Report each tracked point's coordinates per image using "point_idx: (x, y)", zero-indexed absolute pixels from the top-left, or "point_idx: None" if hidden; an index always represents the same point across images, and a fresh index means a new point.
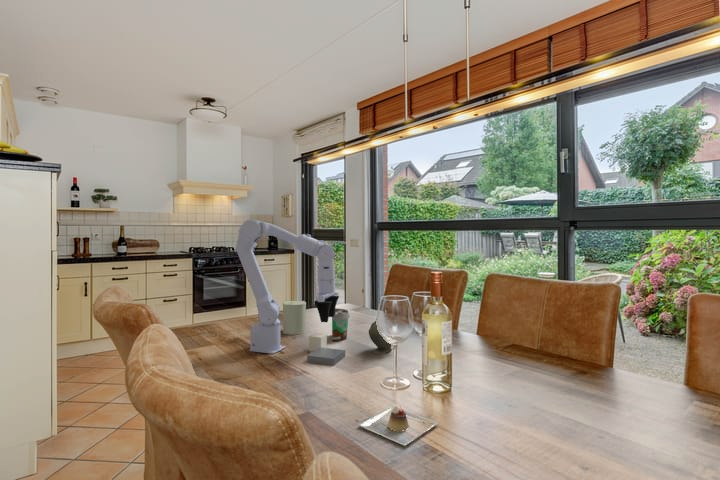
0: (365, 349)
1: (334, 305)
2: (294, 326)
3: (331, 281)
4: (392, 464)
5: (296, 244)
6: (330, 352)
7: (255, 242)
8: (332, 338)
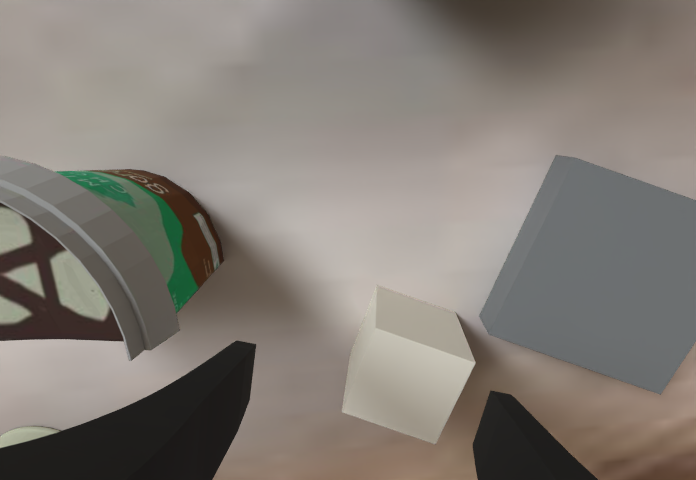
0: (395, 12)
1: (186, 427)
2: None
3: None
4: None
5: None
6: (619, 259)
7: None
8: (217, 266)
